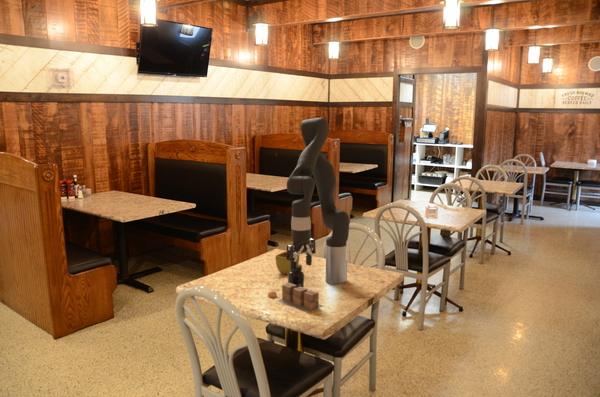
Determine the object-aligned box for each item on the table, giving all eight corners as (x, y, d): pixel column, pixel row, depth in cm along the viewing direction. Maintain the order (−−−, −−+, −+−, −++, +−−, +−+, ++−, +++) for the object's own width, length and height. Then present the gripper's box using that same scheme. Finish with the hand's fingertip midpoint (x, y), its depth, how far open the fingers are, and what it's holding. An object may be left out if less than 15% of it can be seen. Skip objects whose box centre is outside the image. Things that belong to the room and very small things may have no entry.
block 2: (310, 304, 191) (311, 290, 190) (318, 307, 188) (318, 292, 187) (303, 307, 188) (304, 292, 187) (311, 310, 186) (311, 295, 185)
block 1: (289, 296, 199) (289, 282, 198) (296, 299, 197) (296, 285, 196) (282, 299, 196) (282, 285, 195) (289, 301, 194) (289, 287, 193)
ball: (272, 296, 203) (272, 288, 202) (278, 298, 200) (278, 290, 199) (265, 298, 200) (265, 290, 199) (271, 301, 198) (271, 292, 197)
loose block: (300, 300, 195) (300, 286, 194) (307, 303, 192) (307, 288, 191) (293, 303, 192) (293, 288, 191) (300, 306, 190) (300, 291, 189)
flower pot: (300, 272, 234) (300, 254, 233) (290, 277, 227) (290, 258, 225) (285, 268, 239) (285, 251, 237) (274, 273, 232) (274, 255, 230)
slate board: (292, 297, 202) (292, 294, 201) (323, 308, 190) (323, 305, 190) (277, 303, 195) (277, 300, 195) (308, 315, 184) (308, 312, 183)
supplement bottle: (298, 296, 203) (298, 269, 201) (284, 293, 206) (284, 266, 204) (306, 291, 208) (307, 264, 206) (293, 288, 212) (293, 262, 210)
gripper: (295, 232, 179) (296, 274, 182) (320, 225, 189) (320, 265, 192) (281, 229, 184) (281, 270, 187) (306, 222, 195) (306, 261, 197)
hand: (301, 267), depth 190 cm, fingers open, 8 cm apart
